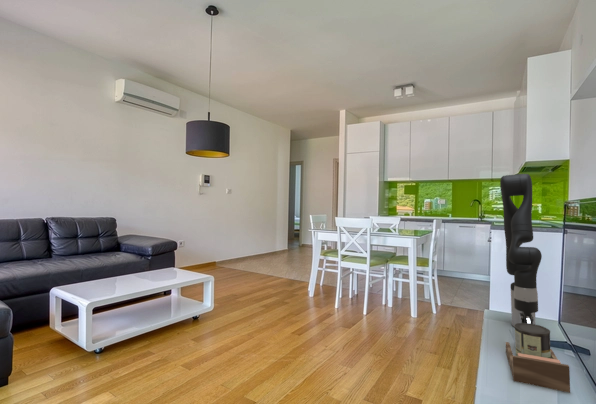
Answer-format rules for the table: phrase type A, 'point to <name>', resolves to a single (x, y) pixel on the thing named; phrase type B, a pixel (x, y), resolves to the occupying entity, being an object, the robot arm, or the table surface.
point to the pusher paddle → (539, 358)
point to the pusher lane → (539, 371)
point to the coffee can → (532, 340)
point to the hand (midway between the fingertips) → (527, 342)
